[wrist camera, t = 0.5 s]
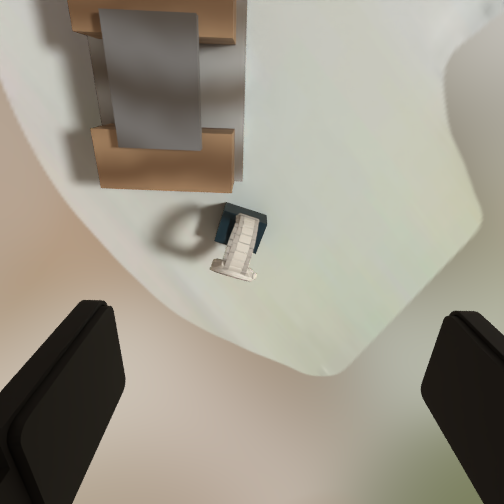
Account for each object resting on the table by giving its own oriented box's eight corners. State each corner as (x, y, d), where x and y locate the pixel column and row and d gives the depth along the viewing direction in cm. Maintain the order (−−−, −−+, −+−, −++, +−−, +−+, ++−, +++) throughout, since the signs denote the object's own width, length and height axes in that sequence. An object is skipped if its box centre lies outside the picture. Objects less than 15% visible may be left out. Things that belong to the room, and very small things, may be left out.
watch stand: (80, -36, 31) (34, -68, 24) (247, -28, 31) (246, -58, 24) (113, 174, 40) (86, 190, 33) (242, 179, 40) (240, 196, 34)
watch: (213, 243, 44) (201, 288, 34) (230, 189, 41) (222, 221, 31) (251, 255, 45) (250, 302, 35) (271, 203, 41) (277, 239, 32)
